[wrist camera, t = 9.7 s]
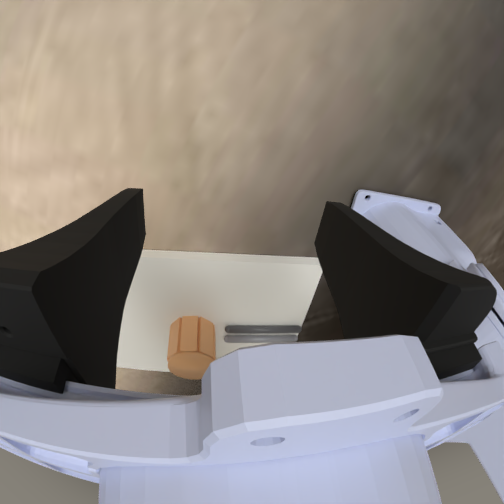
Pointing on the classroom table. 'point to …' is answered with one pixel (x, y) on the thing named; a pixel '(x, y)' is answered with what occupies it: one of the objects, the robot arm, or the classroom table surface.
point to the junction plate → (214, 301)
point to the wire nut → (191, 347)
